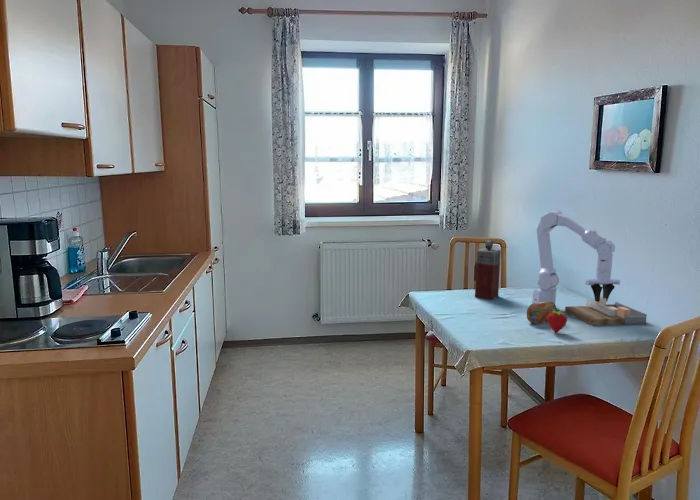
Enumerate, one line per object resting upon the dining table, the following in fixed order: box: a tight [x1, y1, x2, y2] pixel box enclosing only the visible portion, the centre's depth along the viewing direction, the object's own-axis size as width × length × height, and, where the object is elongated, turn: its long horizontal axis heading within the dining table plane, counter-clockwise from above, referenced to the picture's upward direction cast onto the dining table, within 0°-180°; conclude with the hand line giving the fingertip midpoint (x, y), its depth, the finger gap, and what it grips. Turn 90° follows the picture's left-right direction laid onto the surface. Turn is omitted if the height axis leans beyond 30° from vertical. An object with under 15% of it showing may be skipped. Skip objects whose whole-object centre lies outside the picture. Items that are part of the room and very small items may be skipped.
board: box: [564, 305, 625, 326], centre depth 227 cm, size 14×20×2 cm
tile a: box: [617, 307, 630, 318], centre depth 224 cm, size 4×4×2 cm
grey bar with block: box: [585, 296, 615, 316], centre depth 227 cm, size 3×17×6 cm, turn 8°
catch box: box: [605, 301, 648, 325], centre depth 228 cm, size 10×20×4 cm, turn 8°
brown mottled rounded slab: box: [526, 301, 558, 325], centre depth 220 cm, size 15×3×8 cm, turn 117°
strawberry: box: [547, 310, 568, 334], centre depth 206 cm, size 6×8×10 cm
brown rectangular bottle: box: [473, 239, 502, 301], centre depth 261 cm, size 9×11×28 cm
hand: (600, 301), depth 226 cm, fingers closed on grey bar with block, 3 cm apart
